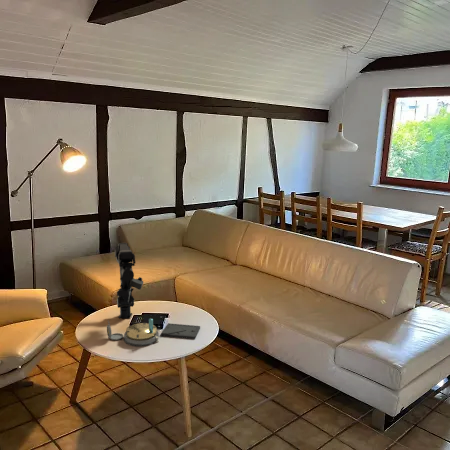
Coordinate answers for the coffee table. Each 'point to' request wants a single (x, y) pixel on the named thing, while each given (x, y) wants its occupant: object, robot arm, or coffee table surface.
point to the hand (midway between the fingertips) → (127, 303)
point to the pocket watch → (113, 336)
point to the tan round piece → (141, 331)
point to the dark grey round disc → (141, 343)
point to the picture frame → (180, 331)
